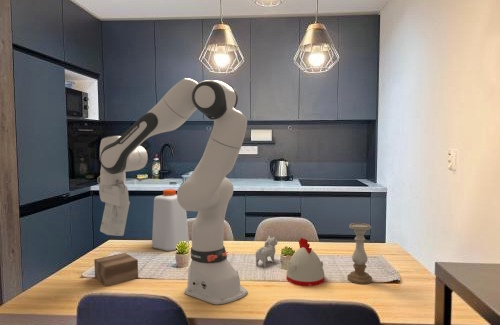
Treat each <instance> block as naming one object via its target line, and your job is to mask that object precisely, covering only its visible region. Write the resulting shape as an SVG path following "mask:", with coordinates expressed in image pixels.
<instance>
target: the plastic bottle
mask: <svg viewBox="0 0 500 325" xmlns="http://www.w3.org/2000/svg"><path fill="white" fill-rule="evenodd" d="M176 191H177V190H176V189H171V188H170V189H169V188H167V189H163V191H162V194H161V195H157V196H155V197H154V199H153V212H152V213H153V214H152V215H153V216H152V233H151V234H152V236H151V237H152V238H151V239H152V240H151V245H152V248H154V249H157V250H161V251H166V252H172V251H176V246H177V244H178V243H179V242H180V241H186V242H188V243H190V239H189V238H190V237H189V228H188V226H189V225H188V217H187V215H188V213H187V210H184V209H183V208H182V207H181V206H180V205H179V203H178V200H177V192H176Z"/></svg>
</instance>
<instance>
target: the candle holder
mask: <svg viewBox="0 0 500 325" xmlns="http://www.w3.org/2000/svg"><path fill="white" fill-rule="evenodd" d="M348 226H349V228H350V229H351V230H353V232H354V233H355V235H356V236H355V237H354V241H355V248H354V252H353V254H352V256H351V257H352V258H351V259H352V261H353V265H352V266H353V268H354V270H353V271H351V272H350V273H349V274H347V280H348V281H349V282H350V283H354V284H359V285H367V284H370V283H372V282H373V277H372V275H370V274H369V273H368V272H366V269H367V267H368V266H367V265H366V264H367V262H368V259H369V258H368V255H367V252H366V251H365V250H366V249H365V241H366V238H365V233H366V232H367V231H369V230H371V228H372V226H371V225H370V224H368V223H363V222H362V223H361V222H353V223H350V224H349V225H348Z"/></svg>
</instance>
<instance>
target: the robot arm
mask: <svg viewBox="0 0 500 325" xmlns="http://www.w3.org/2000/svg"><path fill="white" fill-rule="evenodd" d="M238 101H239V96H238V93H237V90H236V89H235V88H234V87H233V86H232V85H230V84H229V83H226V82H223V81H221V80H213V79H207V80H206V79H205V80H203V81H201V82H199V83H198V82H197V81H196V80H194V79H192V78H188V77H187V78H186V77H185V78H183V79H181V80H180V81H178V82H177V83H176V84H175V85H173V86H172V87H171V88H170V89H169V90H168V91H167V92H166V93H165V95H163V97H161V99H160V100H158V102H157V103H156V104H155V105H154V106H153V107H152V108H151V109H150V110H148V111H147V112H146V113H145V114H143V115H142V116H141V117H140V118H138V119H137V120H136V121H135V122H134V123H133V124H132V125H130V127H129V128H128V129H127V130H125V132H124V133H122V135H108V136H105V137H103V138H102V139H101V140H100V145H99V161H100V171H99V173H100V175H99V176H98V177H97V183H98V190H99V191H98V193H99V198H100V201H101V202H102V203H105V204H106V202H108V203H111V204H113V205H115V206H117V213H116V217H117V218H122V213H123V209H124V206H128V204H129V202H130V199H129V198H130V196H129V190H128V186H127V185H126V183H127V182H126V181H127V178H126V174H127V173H126V172H132V171H133V172H135V171H139V170H142V169H143V168H146V165H147V164H148V161H149V154H148V151H147V150H146V149H145V147H144V146H142V144H143V142H145V141H146V140H147V139H149V138H150V137H151V138H152V137H154V136H155V135H159V134H162V133H167V132H172V131H175V130H177V129H178V128H180V127H181V126H182V125H184V123H185V122H186V121H188V119H189V118H191V116H192V114H194V113H195V112H196V111H197V110H198V111H199V112H200V113H202V114H203V115H204V116H205V117H206V118H208V119H209V120H212V121H213V128H212V131H211V132H210V136H209V138H208V141H207V143H206V147H205V149H204V152H203V155H202V157H201V159H200V160H199V162H198V164H196V166H195V168H194V170H193V171H192V172H191V174H190V175H189V177H188V178H187V179H186V180H185V181H184V182H183V183H182V184H180V186H179V187H178V188H177V190H176V191H177V192H176V195H177V200H178V203H179V205H180V206H181V207H182V208H183V209H184V210H186V212H187V211H188V212H197V215H196V218H195V219H194V221H193V222H192V224H191V248H190V259H191V262H190V264H189V266H188V270H187V284H186V286H187V287H186V288H185V289H184V294H185V295H187V296H191V297H193V298H195V299H198V300H202V301H203V302H206V303H210V304H213V305H223V304H228V303H232V302H234V301H237V300H239V299H242V298H244V297H245V296H247V294H248V293H249V292H248V289H247V288H245V287H244V286H242V285H241V279H240V275H239V271H238V269H235V268H234V267H233V265H232V264H231V262H230V261H229V260H228V256H229V254H228V253H229V252H228V251H226V247H225V245H224V225H225V224H224V223H225V220H226V219H225V218H226V214H227V213H226V212H227V209H228V205H229V203H230V200H231V198H232V197H233V194H234V186H233V183H232V181H231V180H230V179H229V178H228V177H226V176H227V175H228V174H230V172H232V170H233V169H234V167H235V164H236V161H237V160H238V156H239V153H240V151H241V149H242V145H243V143H244V139H245V135H246V132H247V128H248V127H247V126H248V119H247V116H245V114H244V113H243V112H241V111H240V110H237V109H236V107H237V104H238V103H239V102H238ZM105 204H104V205H105Z"/></svg>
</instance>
